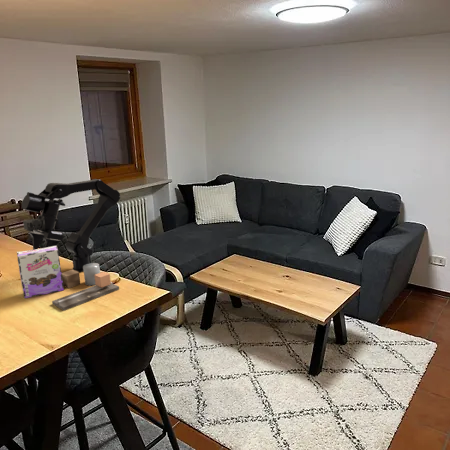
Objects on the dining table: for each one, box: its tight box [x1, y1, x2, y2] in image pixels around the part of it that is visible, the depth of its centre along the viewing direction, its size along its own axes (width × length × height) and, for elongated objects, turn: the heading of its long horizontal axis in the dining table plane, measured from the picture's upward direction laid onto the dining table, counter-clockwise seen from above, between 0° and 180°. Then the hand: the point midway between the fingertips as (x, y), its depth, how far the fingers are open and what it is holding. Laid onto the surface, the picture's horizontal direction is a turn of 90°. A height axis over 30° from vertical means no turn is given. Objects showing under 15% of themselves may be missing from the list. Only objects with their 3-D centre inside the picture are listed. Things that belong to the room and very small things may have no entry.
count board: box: [51, 281, 120, 311], centre depth 152 cm, size 22×8×2 cm, turn 138°
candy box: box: [16, 245, 65, 299], centre depth 155 cm, size 14×6×16 cm, turn 117°
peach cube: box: [94, 271, 112, 288], centre depth 156 cm, size 4×4×4 cm
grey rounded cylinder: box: [82, 262, 101, 287], centre depth 164 cm, size 6×6×7 cm
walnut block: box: [61, 268, 82, 289], centre depth 163 cm, size 5×5×5 cm
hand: (39, 253), depth 164 cm, fingers open, 9 cm apart
